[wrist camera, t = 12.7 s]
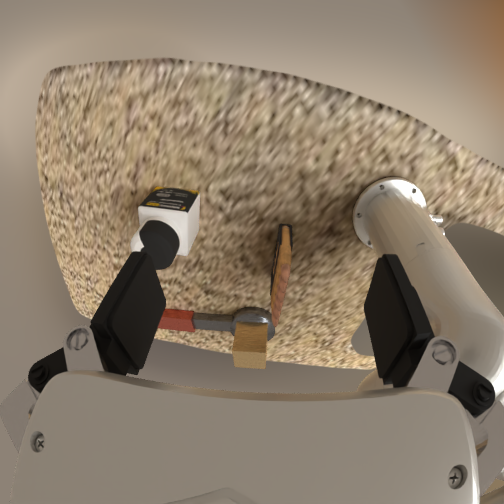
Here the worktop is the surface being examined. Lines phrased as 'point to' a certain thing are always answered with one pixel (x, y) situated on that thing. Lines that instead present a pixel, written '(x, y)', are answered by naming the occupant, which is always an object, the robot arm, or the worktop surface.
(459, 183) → the worktop surface
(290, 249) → the ammunition clip
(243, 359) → the wooden block
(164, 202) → the medicine bottle
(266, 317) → the ratchet
